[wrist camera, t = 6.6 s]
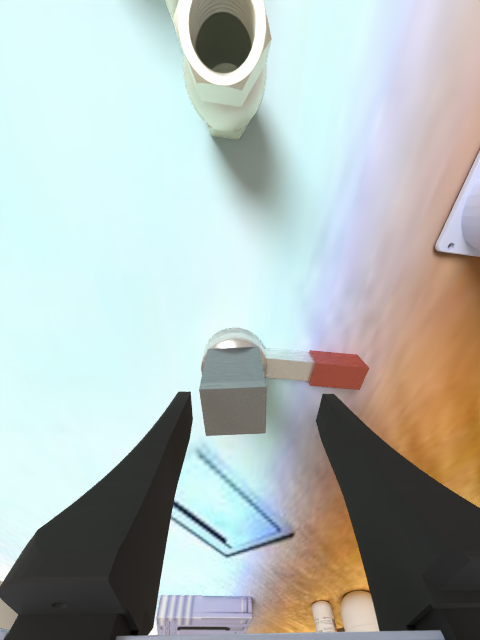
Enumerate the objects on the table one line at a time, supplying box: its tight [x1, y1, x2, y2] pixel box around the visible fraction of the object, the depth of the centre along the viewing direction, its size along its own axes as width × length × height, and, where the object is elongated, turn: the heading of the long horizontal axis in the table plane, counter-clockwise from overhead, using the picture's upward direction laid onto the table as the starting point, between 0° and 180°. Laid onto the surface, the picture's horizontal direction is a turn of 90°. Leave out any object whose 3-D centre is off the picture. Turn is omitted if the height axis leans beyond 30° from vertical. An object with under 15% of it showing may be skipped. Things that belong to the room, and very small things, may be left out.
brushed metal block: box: [199, 347, 266, 436], centre depth 18 cm, size 4×4×5 cm
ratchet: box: [201, 328, 369, 390], centre depth 20 cm, size 16×6×5 cm, turn 83°
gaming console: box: [157, 595, 252, 635], centre depth 51 cm, size 18×4×20 cm
